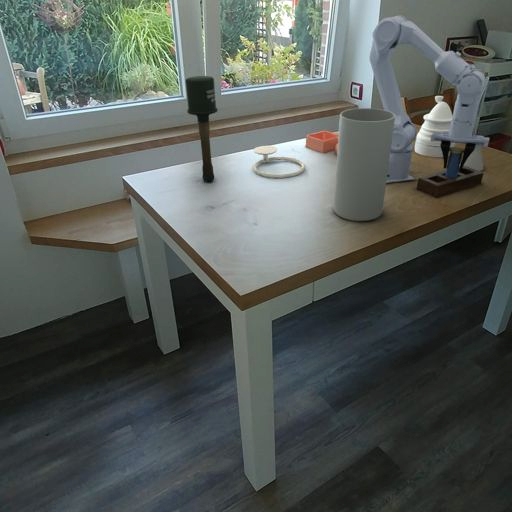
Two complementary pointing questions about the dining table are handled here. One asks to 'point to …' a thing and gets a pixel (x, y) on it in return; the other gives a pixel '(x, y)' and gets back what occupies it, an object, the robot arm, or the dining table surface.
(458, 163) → the capped tube
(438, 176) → the holder
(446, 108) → the honey pot
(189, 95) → the stick grenade
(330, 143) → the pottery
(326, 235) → the dining table surface
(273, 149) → the hand towel holder
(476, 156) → the flask
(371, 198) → the cylinder vase
